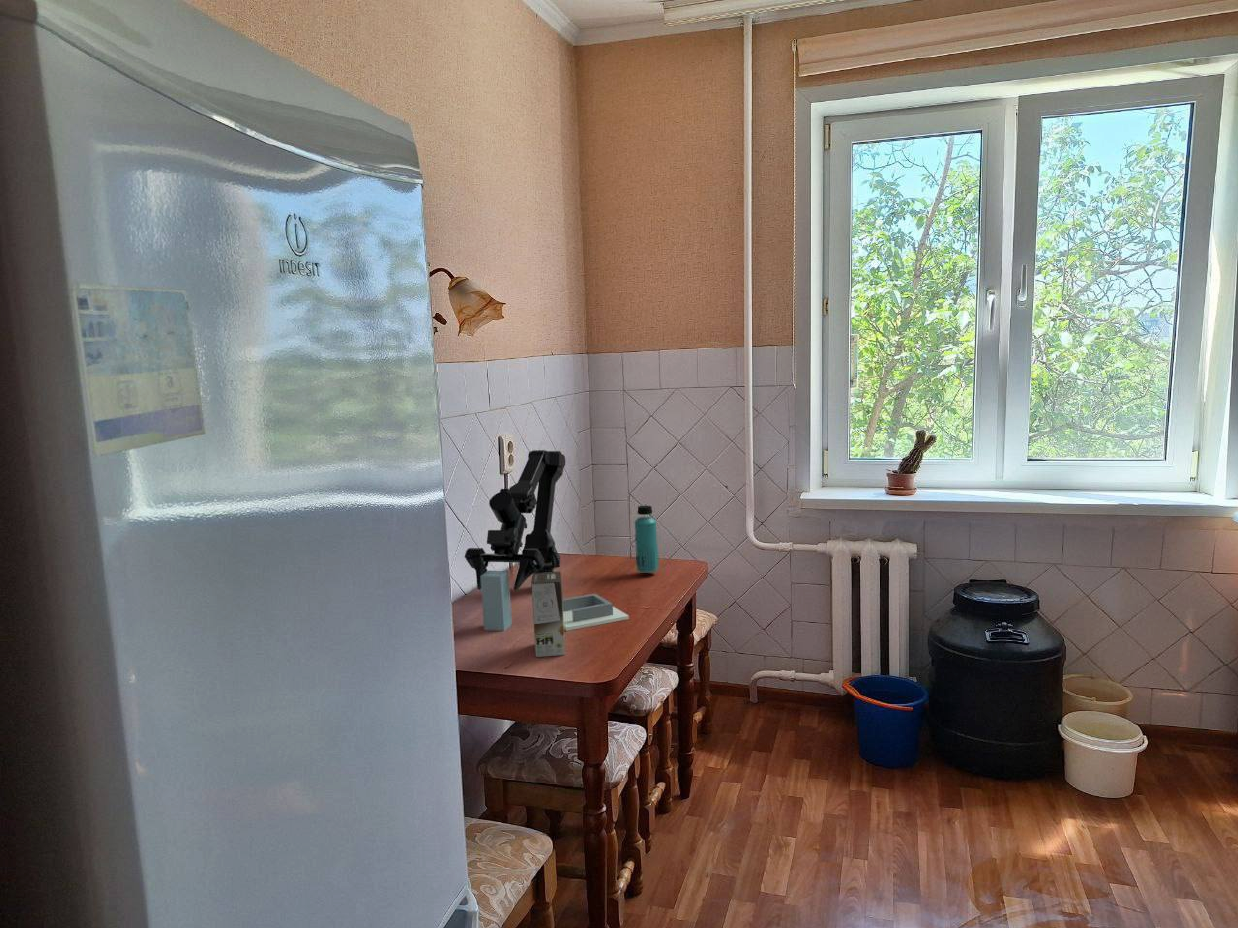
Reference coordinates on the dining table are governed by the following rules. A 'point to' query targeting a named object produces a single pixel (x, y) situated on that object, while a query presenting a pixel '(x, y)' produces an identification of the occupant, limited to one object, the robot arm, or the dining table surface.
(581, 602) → the plate
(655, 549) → the beverage bottle
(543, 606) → the coffee box
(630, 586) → the dining table surface
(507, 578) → the blue-grey tall block
